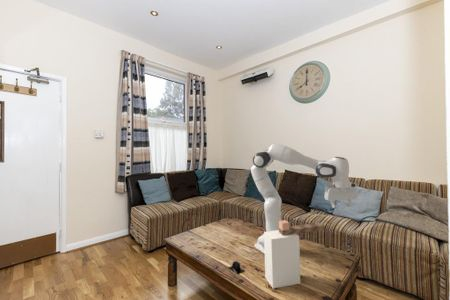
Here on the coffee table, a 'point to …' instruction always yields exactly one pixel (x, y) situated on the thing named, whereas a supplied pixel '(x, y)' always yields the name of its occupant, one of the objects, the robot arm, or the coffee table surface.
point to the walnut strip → (303, 229)
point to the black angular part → (236, 267)
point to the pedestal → (281, 259)
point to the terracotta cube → (284, 225)
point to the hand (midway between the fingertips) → (340, 207)
